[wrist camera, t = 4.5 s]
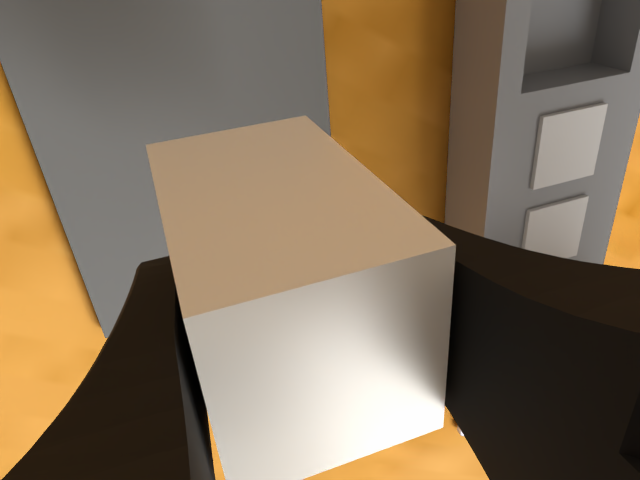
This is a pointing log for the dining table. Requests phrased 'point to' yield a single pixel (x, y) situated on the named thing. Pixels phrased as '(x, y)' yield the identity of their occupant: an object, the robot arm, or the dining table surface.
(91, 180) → the rubber mat
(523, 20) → the power strip
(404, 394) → the plug
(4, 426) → the dining table surface
